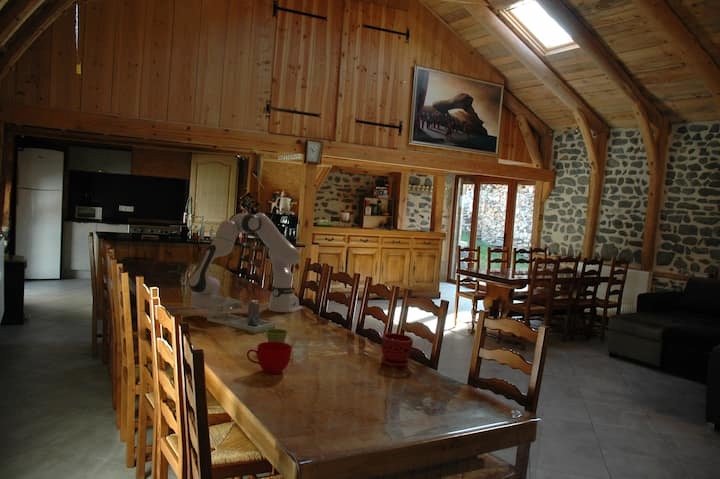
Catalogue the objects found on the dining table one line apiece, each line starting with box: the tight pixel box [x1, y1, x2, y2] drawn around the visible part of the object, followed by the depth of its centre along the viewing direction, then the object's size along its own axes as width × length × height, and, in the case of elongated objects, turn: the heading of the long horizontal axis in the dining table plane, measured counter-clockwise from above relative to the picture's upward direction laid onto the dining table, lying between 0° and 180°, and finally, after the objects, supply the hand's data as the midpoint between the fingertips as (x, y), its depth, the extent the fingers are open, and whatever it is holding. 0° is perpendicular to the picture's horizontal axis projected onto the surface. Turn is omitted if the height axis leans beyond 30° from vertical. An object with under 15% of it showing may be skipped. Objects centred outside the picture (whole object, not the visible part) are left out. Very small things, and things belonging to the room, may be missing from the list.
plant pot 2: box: [380, 332, 414, 368], centre depth 232 cm, size 13×13×12 cm
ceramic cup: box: [246, 341, 293, 375], centre depth 209 cm, size 13×17×10 cm
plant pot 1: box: [265, 328, 289, 343], centre depth 238 cm, size 9×9×9 cm
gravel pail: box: [247, 299, 260, 327], centre depth 275 cm, size 6×6×13 cm
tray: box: [206, 313, 247, 326], centre depth 283 cm, size 14×14×3 cm
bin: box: [229, 317, 276, 335], centre depth 275 cm, size 16×16×3 cm
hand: (237, 308), depth 280 cm, fingers open, 8 cm apart
